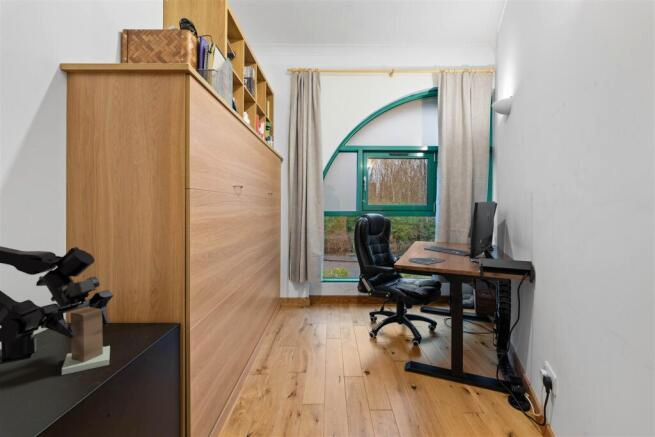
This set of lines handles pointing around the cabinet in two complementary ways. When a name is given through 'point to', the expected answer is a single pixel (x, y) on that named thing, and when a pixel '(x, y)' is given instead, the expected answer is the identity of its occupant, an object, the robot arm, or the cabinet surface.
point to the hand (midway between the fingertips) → (90, 330)
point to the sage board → (76, 366)
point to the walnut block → (86, 334)
